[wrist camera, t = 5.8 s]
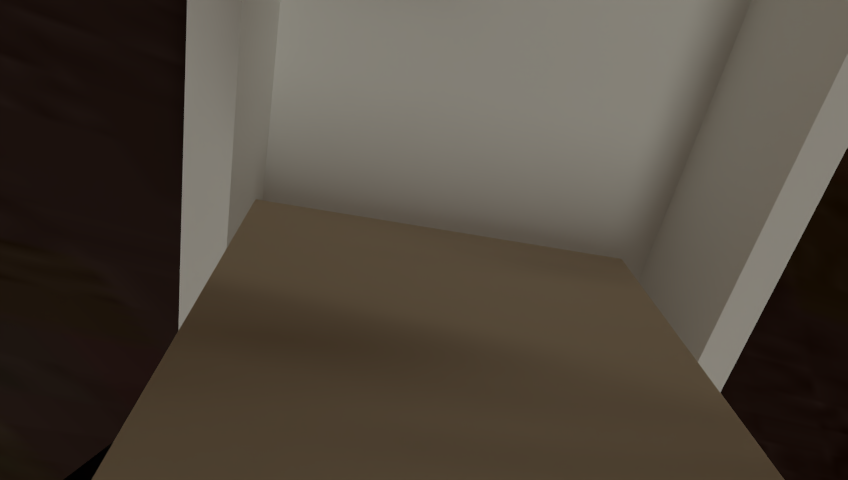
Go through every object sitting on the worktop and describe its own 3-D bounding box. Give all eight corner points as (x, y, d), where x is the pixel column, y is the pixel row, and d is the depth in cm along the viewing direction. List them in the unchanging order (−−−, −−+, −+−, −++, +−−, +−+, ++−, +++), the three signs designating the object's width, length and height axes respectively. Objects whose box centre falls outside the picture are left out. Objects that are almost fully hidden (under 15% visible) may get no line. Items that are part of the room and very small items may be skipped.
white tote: (626, 346, 21) (689, 452, 17) (227, 289, 19) (177, 389, 15) (890, -286, 14) (1133, -405, 9) (278, -471, 12) (206, -728, 7)
